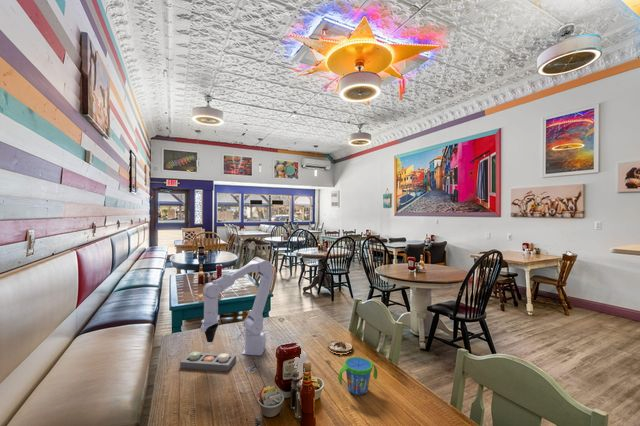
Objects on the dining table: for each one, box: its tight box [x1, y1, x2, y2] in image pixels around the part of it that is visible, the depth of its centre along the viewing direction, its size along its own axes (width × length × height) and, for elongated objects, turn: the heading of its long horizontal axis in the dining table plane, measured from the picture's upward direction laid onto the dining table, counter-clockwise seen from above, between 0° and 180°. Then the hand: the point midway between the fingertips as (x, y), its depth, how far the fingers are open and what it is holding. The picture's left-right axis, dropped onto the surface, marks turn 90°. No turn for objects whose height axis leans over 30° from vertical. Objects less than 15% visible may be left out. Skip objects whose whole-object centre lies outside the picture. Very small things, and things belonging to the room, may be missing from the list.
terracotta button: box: [204, 356, 214, 362], centre depth 127 cm, size 4×4×2 cm
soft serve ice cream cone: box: [293, 343, 308, 377], centre depth 113 cm, size 8×8×16 cm
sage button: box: [188, 351, 201, 361], centre depth 128 cm, size 4×4×2 cm
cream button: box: [218, 353, 229, 363], centre depth 126 cm, size 4×4×2 cm
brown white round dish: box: [327, 340, 354, 353], centre depth 144 cm, size 15×15×4 cm
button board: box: [179, 351, 237, 372], centre depth 127 cm, size 21×9×2 cm, turn 85°
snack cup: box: [337, 356, 378, 396], centre depth 111 cm, size 16×10×10 cm
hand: (210, 341), depth 128 cm, fingers closed
